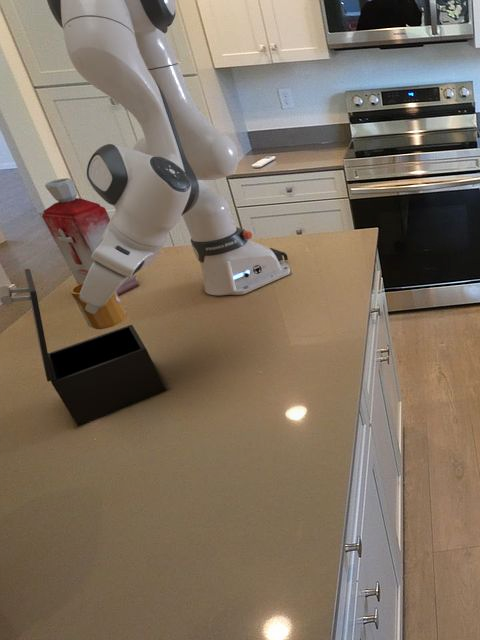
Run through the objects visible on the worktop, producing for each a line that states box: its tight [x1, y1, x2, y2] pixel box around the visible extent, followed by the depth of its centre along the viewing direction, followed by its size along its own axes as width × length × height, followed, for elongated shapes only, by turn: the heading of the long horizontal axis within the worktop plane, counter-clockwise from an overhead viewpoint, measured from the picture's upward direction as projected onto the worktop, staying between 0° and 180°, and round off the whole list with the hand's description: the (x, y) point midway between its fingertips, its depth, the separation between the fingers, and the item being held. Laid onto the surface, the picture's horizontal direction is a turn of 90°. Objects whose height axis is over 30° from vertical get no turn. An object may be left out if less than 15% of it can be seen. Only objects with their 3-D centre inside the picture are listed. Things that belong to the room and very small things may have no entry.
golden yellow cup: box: [70, 282, 128, 330], centre depth 106 cm, size 6×6×8 cm
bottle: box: [41, 177, 140, 296], centre depth 151 cm, size 14×10×30 cm
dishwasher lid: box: [0, 268, 53, 382], centre depth 99 cm, size 16×14×5 cm
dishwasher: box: [48, 324, 167, 427], centre depth 110 cm, size 16×14×10 cm
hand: (99, 301), depth 106 cm, fingers closed on golden yellow cup, 6 cm apart
